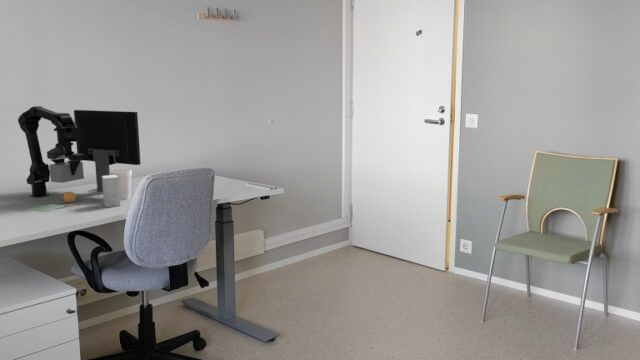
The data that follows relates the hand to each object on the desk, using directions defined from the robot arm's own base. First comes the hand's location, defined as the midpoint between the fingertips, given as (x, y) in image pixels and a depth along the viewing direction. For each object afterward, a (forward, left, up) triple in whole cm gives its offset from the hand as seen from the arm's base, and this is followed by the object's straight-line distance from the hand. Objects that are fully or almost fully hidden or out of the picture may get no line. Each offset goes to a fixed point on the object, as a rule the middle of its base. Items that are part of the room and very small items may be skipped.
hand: (67, 174), depth 282 cm
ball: (+4, -3, -10) cm, 11 cm away
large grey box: (0, 0, -3) cm, 3 cm away
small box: (+26, +1, -12) cm, 29 cm away
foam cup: (+20, +14, -12) cm, 27 cm away
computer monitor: (+2, +23, -12) cm, 26 cm away
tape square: (+4, -15, -12) cm, 20 cm away
